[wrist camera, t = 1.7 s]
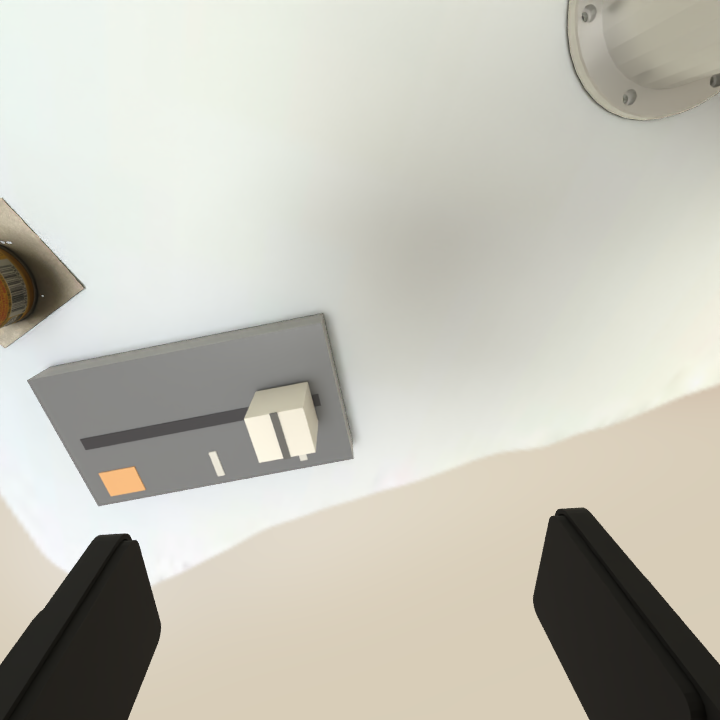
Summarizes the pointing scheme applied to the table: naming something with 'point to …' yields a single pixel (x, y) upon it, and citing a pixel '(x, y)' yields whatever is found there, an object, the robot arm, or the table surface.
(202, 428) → the fader console
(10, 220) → the condiment
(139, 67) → the table surface
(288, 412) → the fader knob
